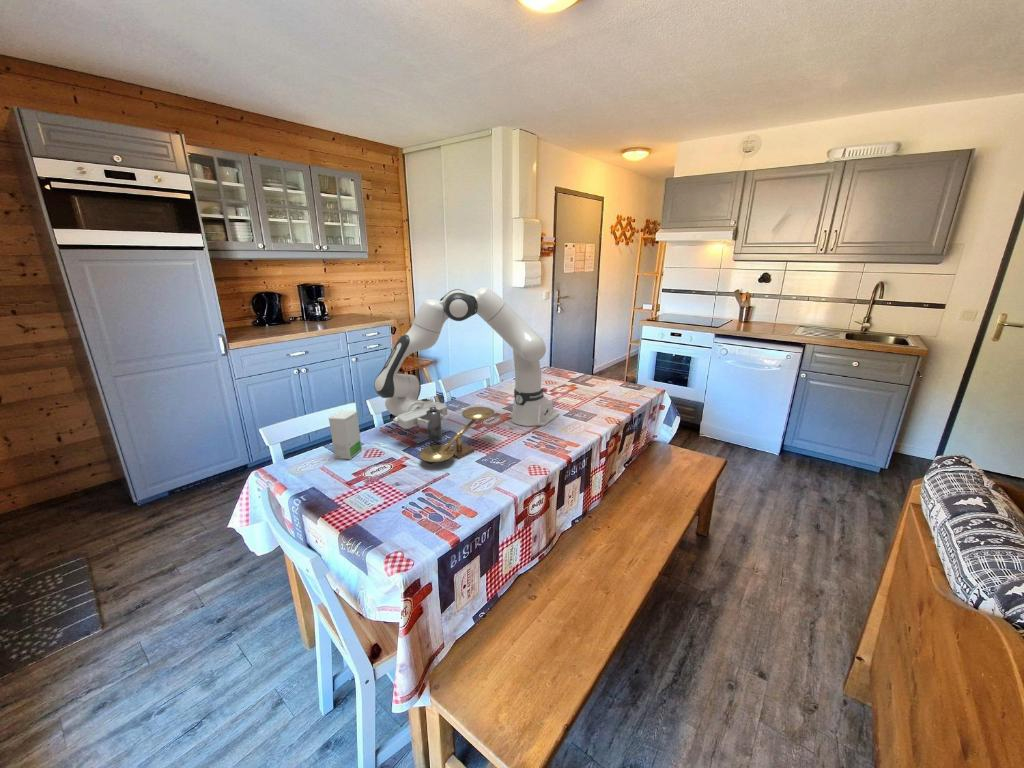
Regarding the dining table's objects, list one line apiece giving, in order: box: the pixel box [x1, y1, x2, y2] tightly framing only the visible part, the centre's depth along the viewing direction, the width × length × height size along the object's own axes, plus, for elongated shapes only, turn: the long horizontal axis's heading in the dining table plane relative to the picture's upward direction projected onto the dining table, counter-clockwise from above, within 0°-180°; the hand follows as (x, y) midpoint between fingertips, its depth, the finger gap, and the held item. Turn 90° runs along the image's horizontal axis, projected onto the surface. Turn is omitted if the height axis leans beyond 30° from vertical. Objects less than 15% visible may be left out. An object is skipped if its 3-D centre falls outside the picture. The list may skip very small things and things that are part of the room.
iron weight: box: [426, 407, 443, 442], centre depth 153 cm, size 5×5×12 cm
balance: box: [418, 406, 495, 463], centre depth 148 cm, size 32×12×13 cm, turn 138°
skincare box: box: [328, 410, 363, 460], centre depth 146 cm, size 8×7×16 cm
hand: (435, 420), depth 152 cm, fingers closed on iron weight, 5 cm apart
